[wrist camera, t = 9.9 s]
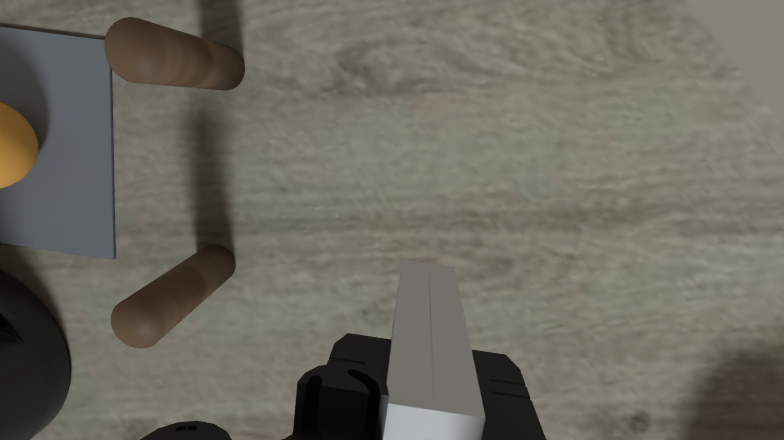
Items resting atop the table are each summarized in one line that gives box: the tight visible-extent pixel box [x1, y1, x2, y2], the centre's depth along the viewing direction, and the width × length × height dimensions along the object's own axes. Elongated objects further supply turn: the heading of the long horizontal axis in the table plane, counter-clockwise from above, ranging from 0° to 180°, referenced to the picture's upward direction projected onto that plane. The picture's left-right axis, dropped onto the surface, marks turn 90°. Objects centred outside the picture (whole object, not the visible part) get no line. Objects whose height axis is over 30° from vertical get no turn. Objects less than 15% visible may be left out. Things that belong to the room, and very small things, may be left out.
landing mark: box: [0, 27, 115, 259], centre depth 30 cm, size 14×14×1 cm
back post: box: [111, 245, 235, 348], centre depth 27 cm, size 3×3×9 cm
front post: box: [104, 17, 245, 90], centre depth 24 cm, size 3×3×9 cm
